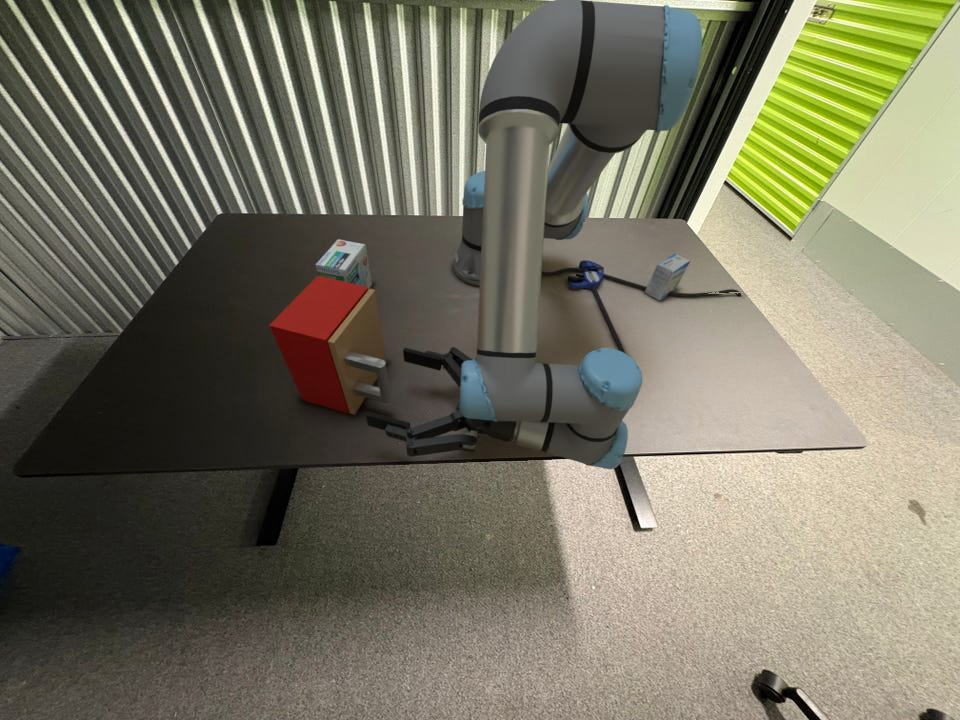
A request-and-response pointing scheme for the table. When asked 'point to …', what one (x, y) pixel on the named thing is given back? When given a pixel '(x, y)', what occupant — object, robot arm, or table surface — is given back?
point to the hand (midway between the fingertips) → (387, 384)
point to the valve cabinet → (316, 338)
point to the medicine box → (667, 276)
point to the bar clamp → (592, 281)
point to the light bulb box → (346, 263)
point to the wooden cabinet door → (361, 354)
